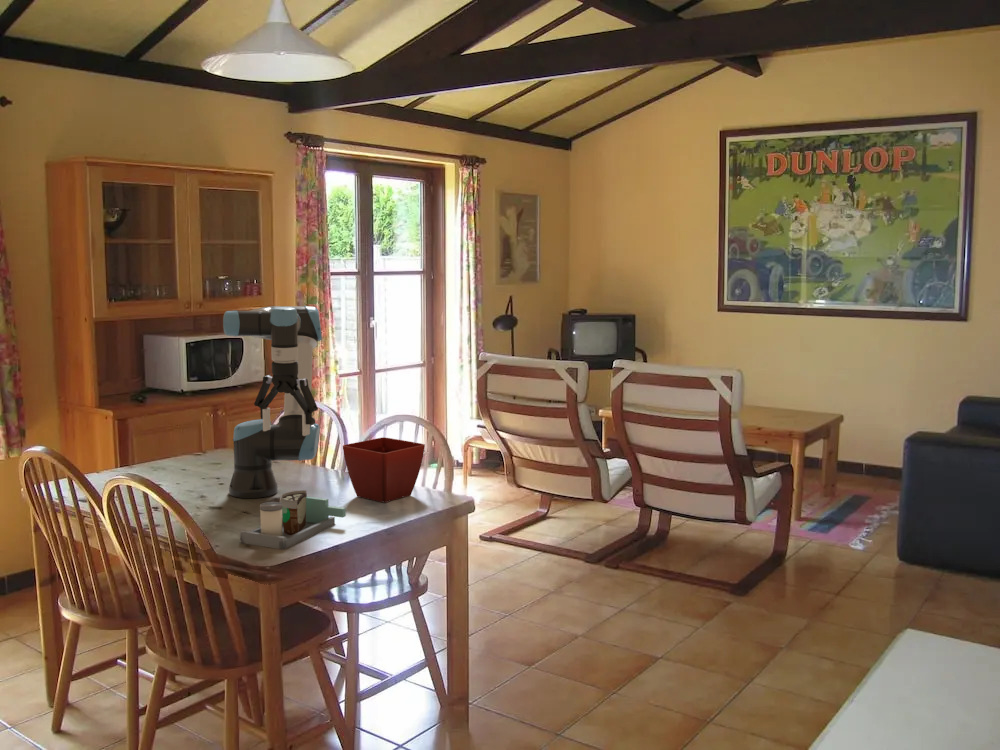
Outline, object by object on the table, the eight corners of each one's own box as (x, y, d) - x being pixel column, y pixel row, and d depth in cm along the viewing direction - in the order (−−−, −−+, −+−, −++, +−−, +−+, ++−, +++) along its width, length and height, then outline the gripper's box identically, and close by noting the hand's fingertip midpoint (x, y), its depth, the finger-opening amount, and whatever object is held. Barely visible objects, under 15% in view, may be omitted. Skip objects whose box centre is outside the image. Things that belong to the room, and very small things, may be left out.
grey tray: (239, 545, 250) (239, 531, 250) (293, 521, 273) (293, 508, 273) (284, 552, 245) (283, 538, 245) (335, 526, 268) (335, 513, 268)
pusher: (294, 520, 270) (294, 496, 269) (299, 517, 273) (299, 494, 272) (342, 526, 264) (342, 502, 264) (347, 524, 267) (347, 500, 266)
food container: (285, 523, 268) (285, 489, 266) (307, 524, 267) (306, 489, 266) (274, 537, 255) (273, 501, 254) (297, 537, 255) (296, 501, 254)
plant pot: (383, 485, 316) (383, 436, 313) (426, 495, 304) (426, 443, 302) (341, 497, 300) (340, 445, 298) (384, 507, 289) (384, 453, 287)
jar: (256, 542, 250) (255, 506, 249) (269, 536, 255) (268, 500, 254) (274, 545, 248) (273, 508, 247) (287, 539, 253) (286, 503, 252)
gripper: (240, 359, 274) (242, 430, 278) (314, 366, 265) (315, 439, 269) (256, 356, 281) (258, 425, 285) (329, 362, 272) (329, 434, 276)
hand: (286, 432), depth 277 cm, fingers open, 13 cm apart
